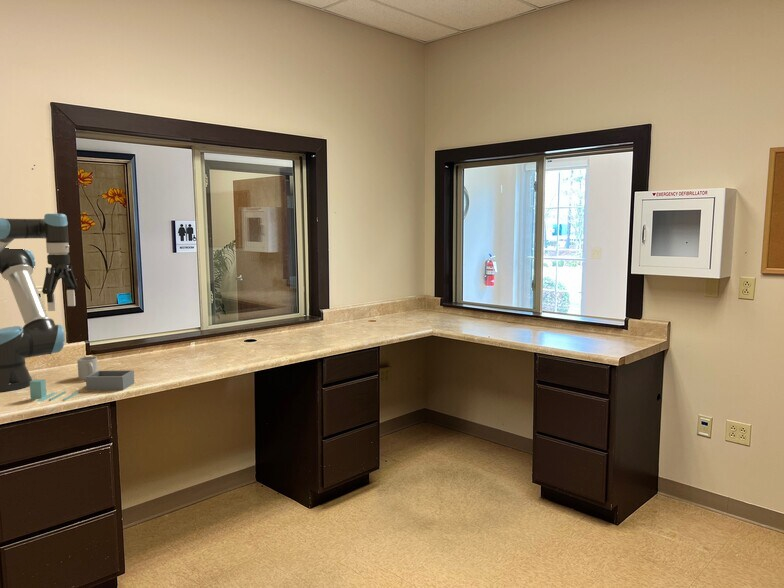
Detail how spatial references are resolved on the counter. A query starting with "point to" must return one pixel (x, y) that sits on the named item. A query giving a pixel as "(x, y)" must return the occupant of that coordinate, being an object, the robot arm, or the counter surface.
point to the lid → (43, 391)
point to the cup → (86, 367)
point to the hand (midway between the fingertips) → (62, 308)
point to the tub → (110, 380)
